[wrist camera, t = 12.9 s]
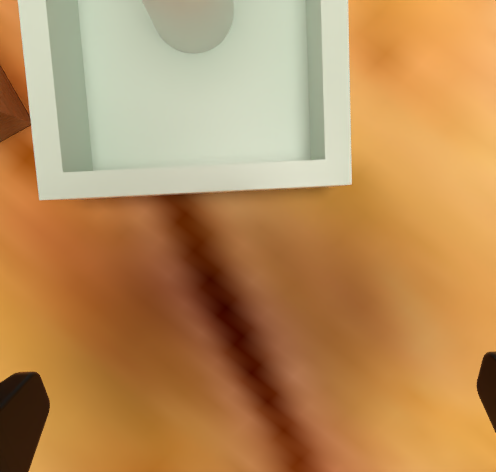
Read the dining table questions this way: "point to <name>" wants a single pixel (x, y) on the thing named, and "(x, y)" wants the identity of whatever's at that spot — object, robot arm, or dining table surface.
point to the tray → (186, 100)
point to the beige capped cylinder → (191, 22)
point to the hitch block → (11, 110)
